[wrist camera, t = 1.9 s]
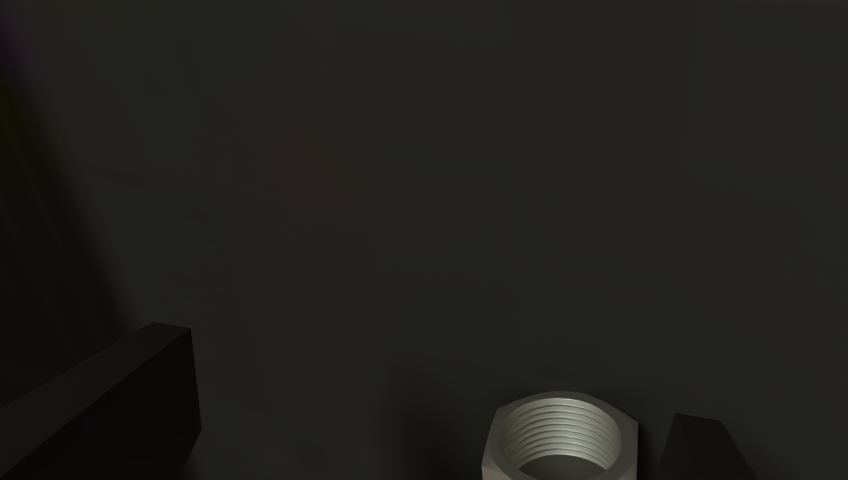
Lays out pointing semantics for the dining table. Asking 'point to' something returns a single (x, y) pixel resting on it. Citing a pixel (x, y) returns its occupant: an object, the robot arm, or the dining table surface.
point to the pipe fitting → (561, 440)
